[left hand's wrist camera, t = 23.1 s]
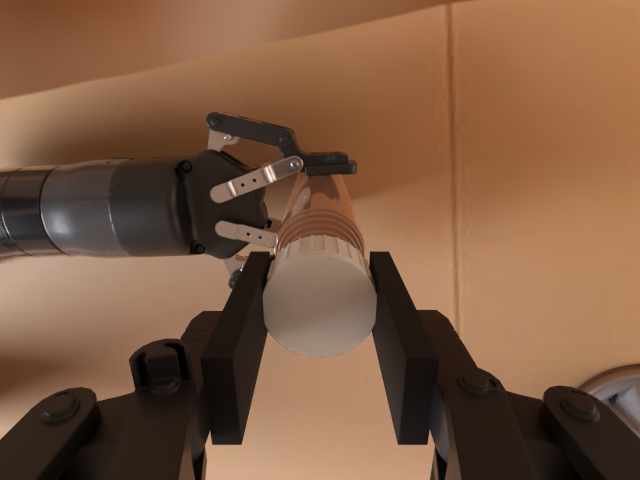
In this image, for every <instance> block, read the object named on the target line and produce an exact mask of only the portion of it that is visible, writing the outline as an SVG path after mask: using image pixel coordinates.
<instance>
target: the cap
mask: <svg viewBox="0 0 640 480" xmlns="http://www.w3.org/2000/svg"><path fill="white" fill-rule="evenodd" d="M376 304H377V293H376V290H375V284H374V280H373V277H372V274H371V271H370V269H369V266H368V262H367V260H366V259H364V257H363V256H362V255H361V254H360V251H359V250H357V249H356V248H354V247H353V246H352V245H350V243H349V242H348V243H347V242H345V241H343V240H341V239H339V238H338V237H337V238H335V237H331V236H326V235H324V236H323V235H317V236H313V235H311V236H309V237H304V238H299V240H296V241H294V242H292V243H291V244H290V243H289V244H288V245H287V246H286V247H285V248H284V249H283V250H282V251H279V252H278V255H277V257H276V258H275V260H274V261H273V260H272V263H271V266H270V269H269V272H268V275H267V281H266V285H265V288H264V291H263V310H264V323H265V326H266V328H267V329H268V331H269V333H270V334H271V335H272V337H273V338H274V339H275V340H276V341H277V342H278V343H279V344H281V345H282V346H283V347H285V348H287V349H288V350H290V351H292V352H295V353H297V354H300V355H304V356H308V357H318V358H320V357H331V356H336V355H339V354H342V353H345V352H347V351H349V350H351V349H353V348H354V347H356V346H357V345H359V344H360V343H361V342H362V341H363V340H364V339H365V338H366V337H367V336H368V335H369V333H370V332H371V330H372V329H373V326H374V324H375V320H376Z"/></svg>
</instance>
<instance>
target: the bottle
mask: <svg viewBox="0 0 640 480" xmlns="http://www.w3.org/2000/svg"><path fill="white" fill-rule="evenodd" d="M311 235H313V236H317V235H323V236H324V235H326V236H331V237H335V238H337V237H338V238H339V239H341V240H343V241H345V242H347V243H348V242H349V243H350V245H352V246H353V247H354V248H356V249H357V250H359V251H360V254H361V255H362V256H363V257H364V256H365V244H364V239H363V236H362V233H361V230H360V227H359V224H358V221H357V218H356V215H355V212H354V209H353V206H352V203H351V200H350V197H349V194H348V191H347V188H346V185H345V182H344V179H343V176H342V174H337V175H311V176H305V172H299V173H298V175H297V178H296V181H295V184H294V187H293V189H292V192H291V195H290V198H289V201H288V204H287V207H286V210H285V213H284V216H283V219H282V222H281V225H280V228H279V231H278V234H277V237H276V241H275V249H274V251H275V258H276V257H277V255H278V252H279V251H282V250H283V249H284V248H285V247H286V246H287V245H288V244H289V243H290V244H291V243H292V242H294V241H296V240H299V238H304V237H309V236H311Z"/></svg>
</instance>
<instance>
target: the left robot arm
mask: <svg viewBox="0 0 640 480" xmlns="http://www.w3.org/2000/svg"><path fill="white" fill-rule="evenodd" d="M269 269H270V252H250V254H249V257H248V259H247V261H246V263H245V265H244V267H243V269H242V271H241V273H240V275H239V278H238V280H237V282H236V284H235V286H234V288H233V290H232V292H231V294H230V296H229V299H228V301H227V303H226V305H225V307H224V309H223V311H203V312H201V313H200V314H199V315H197V316H196V317H195V318H193V319H192V320H191V322H190V323H189V325H188V327H187V328H186V331H185V332H184V333H183V335H182V337H181V339H180V340H179V339H162V340H158V341H154V342H151V343H149V344H147V345H144V346H143V347H141V348H140V349H138V350H137V351H136V352H134V354H133V355H132V356H131V358H130V359H129V363H130V367H131V372H132V376H133V381H134V385H135V391H134V392H133V393H130V394H127V395H123V396H119V397H115V398H111V399H106V400H102V401H97V397H96V394H95V393H94V392H93V391H92V390H91V389H88V388H83V387H79V388H69V389H66V390H63V391H60V392H57V393H55V394H53V395H51V396H49V397H47V398H45V399H43V400H42V401H41V402H39V403H38V404H37V405H36V406H34V407H33V408H32V409H31V410H30V411H29V412H28V413H27V414H26V415H25V416H24V417H23V418H22V419H21V420H20V421H19V422H18V423H17V424H16V425H15V426H14V427H13V428H12V429H11V430H10V431H9V432H8V433H7V434H6V435H5V436H4V437H3V438H2V439H1V440H0V480H205V476H206V465H207V457H206V450H205V444H206V441H207V438H208V435H209V432H211V439H212V445H242V440H243V436H244V432H245V427H246V423H247V419H248V414H249V410H250V406H251V402H252V397H253V393H254V389H255V384H256V380H257V376H258V371H259V367H260V363H261V358H262V354H263V350H264V345H265V341H266V337H267V332H268V329H267V328H266V326H265V323H264V310H263V291H264V288H265V285H266V281H267V275H268V272H269ZM369 269H370V271H371V274H372V277H373V280H374V284H375V290H376V293H377V304H376V320H375V324H374V326H373V329H372V334H373V338H374V343H375V347H376V351H377V356H378V360H379V364H380V369H381V373H382V377H383V382H384V386H385V390H386V395H387V399H388V403H389V408H390V412H391V416H392V421H393V425H394V429H395V434H396V438H397V442H398V445H427V443H428V436H429V429H430V431H431V434H432V437H433V440H434V443H435V450H434V457H433V463H432V470H431V477H430V480H640V366H627V367H621V368H617V369H613V370H610V371H607V372H605V373H602V374H600V375H598V376H596V377H594V378H592V379H590V380H588V381H587V382H585V383H584V384H582V385H581V386H580V387H579V388H577V389H576V388H572V387H567V386H554V387H550V388H548V389H547V390H546V391H545V392H544V395H543V399H542V400H540V399H536V398H531V397H527V396H523V395H518V394H515V393H511V392H508V391H506V390H505V388H504V387H503V385H502V384H501V382H500V381H499V380H498V379H497V378H496V377H494V376H493V375H492V374H491V373H489V372H486V371H484V370H482V369H480V368H478V367H477V366H476V364H475V362H474V361H473V359H472V357H471V356H470V354H469V352H468V351H467V349H466V347H465V346H464V344H463V343H462V341H461V339H459V336H458V334H457V333H456V331H454V328H453V326H452V324H451V323H450V321H449V319H448V318H446V317H445V316H444V315H443V314H441V313H440V312H439V311H437V310H416V308H415V306H414V304H413V302H412V299H411V297H410V295H409V293H408V291H407V289H406V287H405V285H404V283H403V280H402V278H401V276H400V274H399V272H398V270H397V268H396V266H395V264H394V262H393V259H392V257H391V255H390V253H389V252H370V263H369Z"/></svg>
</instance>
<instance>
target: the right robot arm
mask: <svg viewBox="0 0 640 480" xmlns="http://www.w3.org/2000/svg"><path fill="white" fill-rule="evenodd" d="M206 123H207V126H208V127H209V128H210V132H209V140H208V148H207V150H204V151H202V152H201V153H199V154H198V155H195V156H180V157H154V158H130V159H128V158H124V157H115V158H112V159H103V160H91V161H85V162H80V163H74V164H61V165H35V166H14V167H6V168H1V169H0V265H1V264H5V263H9V262H12V261H16V260H20V259H25V258H34V257H62V256H87V257H96V258H126V257H156V256H185V255H198V254H208V255H211V256H214V257H216V258H219V259H223V260H224V262H225V264H226V267H227V269H228V271H229V273H230V275H231V278H230V280H229V286H230V288H231V289H233V288H234V286H235V284H236V282H237V280H238V278H239V275H240V273H241V271H242V269H243V267H244V265H245V263H246V261H247V259H248V257H249V256H245V257H243V256H240V255H238V254H237V253H238V252H239V251H240V250H242V249H243V248H244V247H245V246H247V245H248V244H249V243H254V244H258V245H261V246H265V247H269V248H275V241H276V237H277V234H278V231H279V228H280V225H281V222H282V221H280V220H278V219H274V218H270V217H268V212H267V208H266V205H265V203H264V197H265V191H266V190H265V186H266V185H268V184H271V183H273V182H275V181H277V180H279V179H282V178H284V177H287V176H290V175H292V174H295V173H298V172H305V176H311V175H337V174H355V173H357V163H356V161H355V160H348V155H347V154H345V153H343V152H317V153H306V152H304V151H302V150H301V149H300V148H299V146H298V143H297V141H296V138H295V133H294V131H293V130H292V129H290V128H287V127H283V126H279V125H275V124H271V123H267V122H263V121H259V120H255V119H251V118H247V117H243V116H238V115H234V114H230V113H226V112H213V113H210V114H209V115H208V116H207V118H206ZM241 137H242V138H246V139H250V140H254V141H258V142H262V143H266V144H270V145H274V146H279V149H280V151H281V153H282V155H283V157H280V158H278V159H275V160H271V161H268V162H266V163H263V164H260V165H258V166H255V167H253V168H249V167H248V166H246V165H245V164H243V163H242V162H240V161H239V160H237V159H235V158H234V157H232V156H231V155H229V154H228V153H226V152H225V151H223V149H224V147H225V146H226V145H234V144H236V143H238V142H239V141H240V140H241ZM266 224H267V225H266ZM260 236H261V237H260ZM272 260H273V261H274V260H275V254H273V255H270V266H271V263H272Z"/></svg>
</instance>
